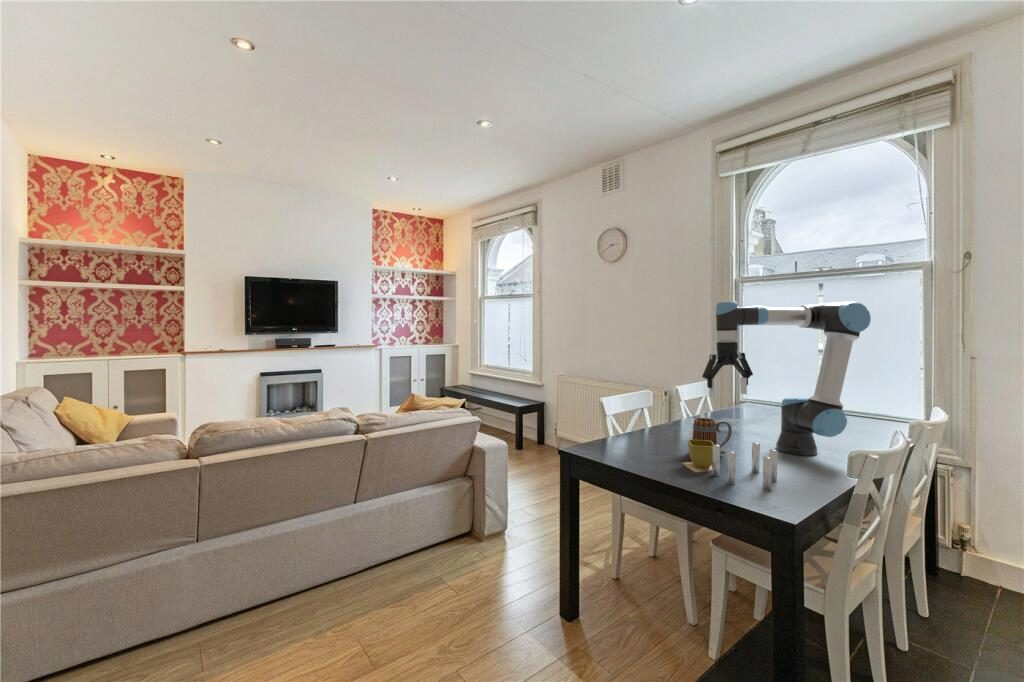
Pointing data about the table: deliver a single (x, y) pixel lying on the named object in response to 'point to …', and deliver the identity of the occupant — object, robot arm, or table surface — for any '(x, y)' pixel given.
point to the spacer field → (768, 465)
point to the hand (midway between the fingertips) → (728, 395)
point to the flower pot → (701, 452)
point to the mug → (709, 431)
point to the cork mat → (697, 469)
